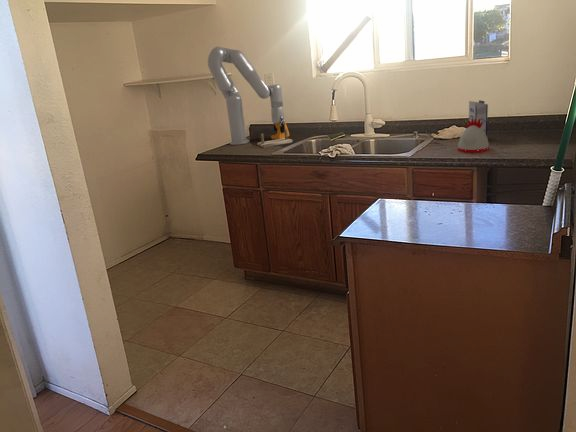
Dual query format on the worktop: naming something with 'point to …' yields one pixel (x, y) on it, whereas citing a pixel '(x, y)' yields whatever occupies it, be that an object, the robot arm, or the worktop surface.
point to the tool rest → (274, 142)
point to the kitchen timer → (473, 139)
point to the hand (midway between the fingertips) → (279, 131)
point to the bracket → (279, 132)
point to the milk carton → (479, 113)
